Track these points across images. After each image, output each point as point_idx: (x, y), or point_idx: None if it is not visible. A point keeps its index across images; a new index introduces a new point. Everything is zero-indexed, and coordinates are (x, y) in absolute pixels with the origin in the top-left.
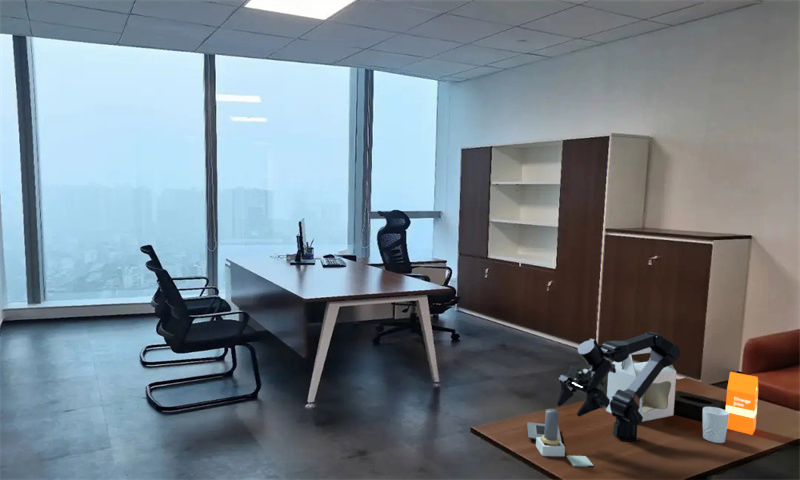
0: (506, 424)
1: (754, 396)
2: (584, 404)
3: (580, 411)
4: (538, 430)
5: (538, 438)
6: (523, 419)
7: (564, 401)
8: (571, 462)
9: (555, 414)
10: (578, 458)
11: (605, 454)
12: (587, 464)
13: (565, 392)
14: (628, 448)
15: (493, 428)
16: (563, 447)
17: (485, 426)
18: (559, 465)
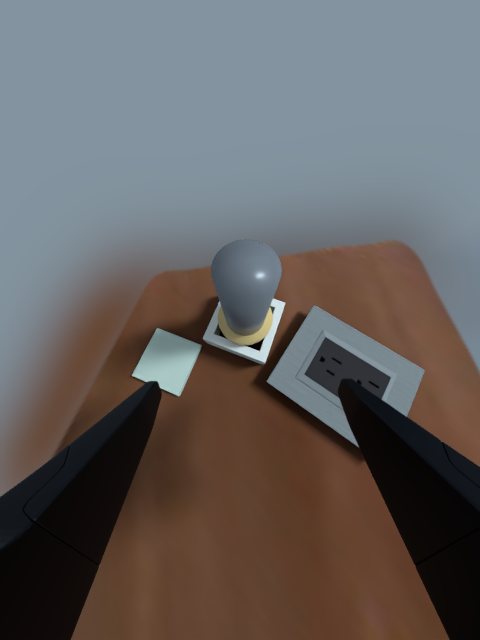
0: (430, 320)
1: None
2: (68, 464)
3: (125, 400)
4: (348, 357)
5: (275, 302)
6: (474, 397)
7: (367, 453)
8: (170, 333)
9: (212, 267)
10: (176, 364)
11: (169, 479)
12: (140, 362)
13: (467, 529)
14: (166, 636)
15: (403, 274)
16: (204, 334)
17: (418, 263)
18: (176, 301)
